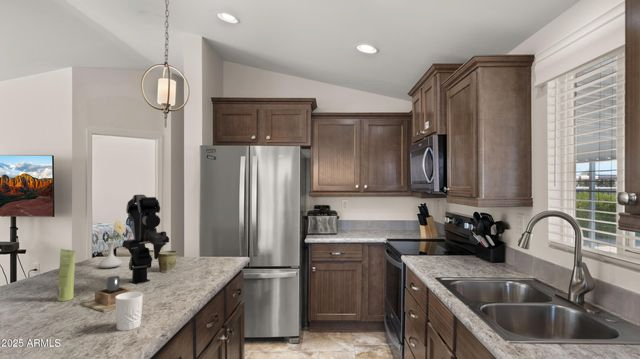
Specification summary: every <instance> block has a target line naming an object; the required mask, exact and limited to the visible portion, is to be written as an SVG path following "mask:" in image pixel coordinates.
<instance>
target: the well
mask: <svg viewBox="0 0 640 359" xmlns="http://www.w3.org/2000/svg"><path fill="white" fill-rule="evenodd" d="M126 292H131V288H127V287H123V286H120V285H119V292H115V293H111V294H107V288H103V289H99V290H95V291H94V299H93V300H92V299H91V300H89V301H84V302H82V306H84V307H88V308H90V309H93V310H97V311H99V312H103V313H105V312H108V311H109V312H111V311H112V310H116V308H115V297H116V296H117V295H119V294H122V293H126Z"/></svg>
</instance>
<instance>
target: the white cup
mask: <svg viewBox="0 0 640 359" xmlns="http://www.w3.org/2000/svg"><path fill="white" fill-rule="evenodd" d="M143 299H144V293H143V292H141V291H130V292H126V293H122V294H119V295H117V296H116V297H115V308H116V309H115V321H116V330H117V331H121V332H123V331H124V332H125V331H131V330H135V329H138V328H139V327H140V326H141V322H142V315H143V314H142V312H143V304H144V303H143V302H144V300H143Z"/></svg>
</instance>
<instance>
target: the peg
mask: <svg viewBox="0 0 640 359" xmlns="http://www.w3.org/2000/svg"><path fill="white" fill-rule="evenodd" d="M119 286H120V275H112V276H108V277H107V278H106V289H107V294H111V293H115V292H119Z"/></svg>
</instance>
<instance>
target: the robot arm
mask: <svg viewBox="0 0 640 359" xmlns="http://www.w3.org/2000/svg"><path fill="white" fill-rule="evenodd" d="M125 211H126V214H127V216H128V219H129V220H130V221H131V222H132V233H133V234H132V235H133V238H132V239H125V240H124V241H122V246H121V247H122V248H125V249H126V250H128V252H129V254H130V255H131V256H130V259H129V263H128V270H129V271H132V274H131V277H132V278H131V279H130V280H129V281H128V283H132V284H136V285H138V284H143V283H145V282H147V283H148V282H150V281H151V279H148V269H151V268H152V264H153V263H152V262H153V257H152V254H151V252H150V248H149V247H147V246H146V244H151V245H153V246H152V247H153V256H154V259H155V260H158V255H159V253H160V251H162V248H163V247H164V246H166V245H168V244H167V243H170V238H169V236H168V235H167V232H166V231H164V230H163V231H160V232H158V231H157V227H159V225H160V224H161V218H160V217H159V216H158V215H157V214H159V213H160V212H161V206H160V202H159V200H158V199H157V197H156V196H150V197H149V196H146V195H145V194H134V195H133V196H132V198H131V199H130V200H129V201H127V204H126V210H125Z"/></svg>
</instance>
